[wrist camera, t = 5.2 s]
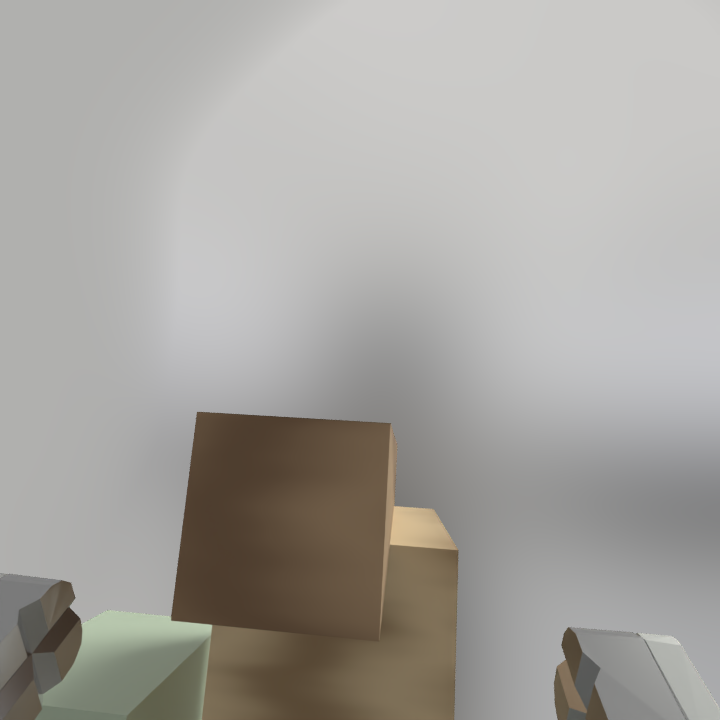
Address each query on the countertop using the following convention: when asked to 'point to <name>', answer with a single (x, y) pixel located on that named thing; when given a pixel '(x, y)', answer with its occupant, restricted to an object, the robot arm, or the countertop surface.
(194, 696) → the block
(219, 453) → the batten
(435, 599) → the stand
